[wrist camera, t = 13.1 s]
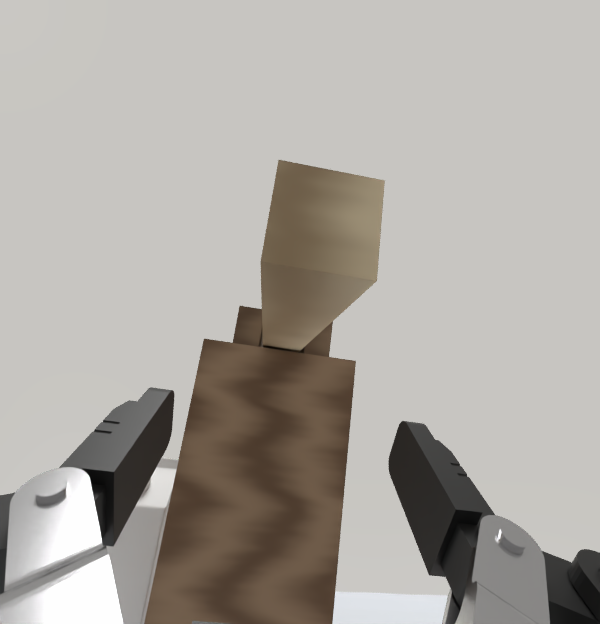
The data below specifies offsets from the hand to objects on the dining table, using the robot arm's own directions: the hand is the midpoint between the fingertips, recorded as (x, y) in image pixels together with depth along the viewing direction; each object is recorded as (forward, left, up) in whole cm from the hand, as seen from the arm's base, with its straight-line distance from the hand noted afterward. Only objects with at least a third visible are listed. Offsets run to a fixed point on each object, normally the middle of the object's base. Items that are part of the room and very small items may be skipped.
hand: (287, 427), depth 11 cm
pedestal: (0, +21, -28) cm, 35 cm away
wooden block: (0, +8, +4) cm, 9 cm away
